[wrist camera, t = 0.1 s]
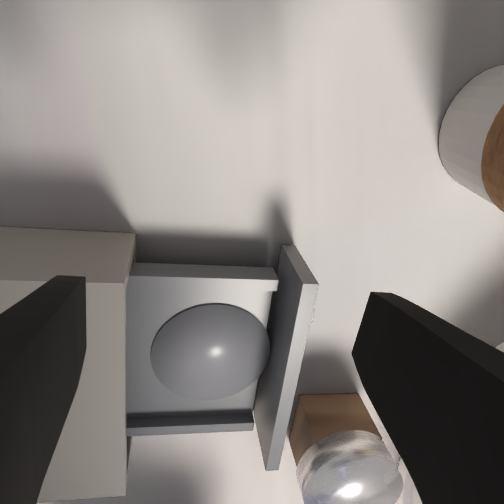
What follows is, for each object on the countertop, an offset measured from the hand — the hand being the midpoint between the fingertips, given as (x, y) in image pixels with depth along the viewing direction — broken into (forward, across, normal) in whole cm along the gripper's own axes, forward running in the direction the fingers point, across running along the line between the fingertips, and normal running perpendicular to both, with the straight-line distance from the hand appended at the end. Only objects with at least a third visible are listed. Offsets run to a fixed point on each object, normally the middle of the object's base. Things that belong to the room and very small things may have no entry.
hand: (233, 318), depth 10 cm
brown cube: (+10, -9, +14) cm, 20 cm away
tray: (+10, 0, +8) cm, 13 cm away
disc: (+7, -9, +14) cm, 18 cm away
